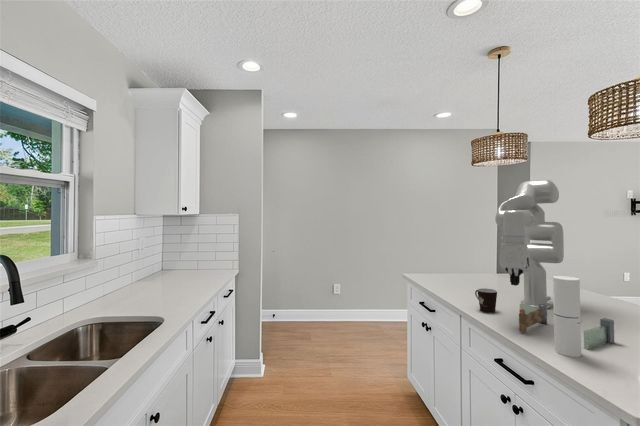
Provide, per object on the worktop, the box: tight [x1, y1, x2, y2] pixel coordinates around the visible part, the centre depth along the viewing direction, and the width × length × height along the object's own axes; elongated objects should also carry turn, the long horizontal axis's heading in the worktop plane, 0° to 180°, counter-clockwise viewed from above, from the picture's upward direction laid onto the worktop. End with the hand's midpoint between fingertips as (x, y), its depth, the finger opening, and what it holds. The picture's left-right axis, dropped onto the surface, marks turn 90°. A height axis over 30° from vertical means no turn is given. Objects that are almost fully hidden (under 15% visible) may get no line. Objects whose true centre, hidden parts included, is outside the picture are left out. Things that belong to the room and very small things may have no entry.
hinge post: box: [519, 303, 548, 326], centre depth 141 cm, size 3×11×8 cm, turn 24°
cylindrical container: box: [552, 275, 582, 358], centre depth 109 cm, size 7×7×25 cm
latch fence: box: [583, 317, 615, 350], centre depth 114 cm, size 15×3×8 cm, turn 115°
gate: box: [518, 308, 543, 334], centre depth 131 cm, size 17×2×9 cm, turn 125°
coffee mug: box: [474, 287, 498, 314], centre depth 157 cm, size 12×9×10 cm
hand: (514, 284), depth 133 cm, fingers closed
